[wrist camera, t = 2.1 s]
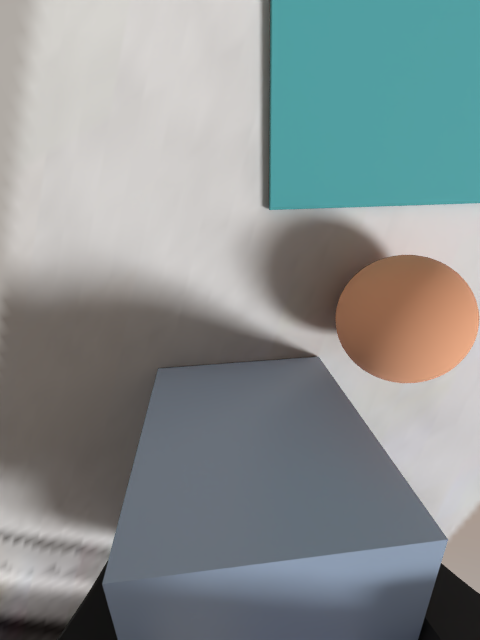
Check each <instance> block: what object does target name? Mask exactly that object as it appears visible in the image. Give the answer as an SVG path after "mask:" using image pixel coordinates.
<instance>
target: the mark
mask: <svg viewBox="0 0 480 640" xmlns="http://www.w3.org/2000/svg"><path fill="white" fill-rule="evenodd" d="M465 203H480V0H270V159H269V210H282V209H313V208H343V207H373V206H404V205H434V204H465Z"/></svg>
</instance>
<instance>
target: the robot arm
mask: <svg viewBox="0 0 480 640" xmlns="http://www.w3.org/2000/svg"><path fill="white" fill-rule="evenodd" d="M107 564H108V561H107V563H106V565H105V566H104V568H103V570H102V571H101V573H100V575H99V576H98V578H97V580H96V581H95V583H94V585H93V586H92V588H91V590H90V591H89V593H88V594H87V596H86V597H85V599H84V600H83V602H82V604H81V605H80V607H79V608H78V610H77V611H76V613H75V614H74V615H73V617H72V618H71V620H70V621H69V623H68V624H67V626H66V627H65V629H64V630H63V631H62V633H61V634H60V636H59V637H58V638H57V640H118V639H117V635H116V632H115V628H114V624H113V621H112V617H111V614H110V610H109V607H108V603H107V600H106V596H105V592H104V589H103V585H102V583H103V579H104V575H105V571H106V567H107ZM418 640H480V594H479V593H478V592H476V591H475V590H474V589H472V588H471V587H470V586H468V585H467V584H466V583H465V582H463V581H462V580H461V579H460V578H458V577H457V576H456V575H455V574H453V573H452V572H451V571H450V570H449V569H447V568H446V567H445V566H444V565H443V564H442V563H441V565H440V568H439V571H438V575H437V578H436V581H435V585H434V588H433V591H432V595H431V598H430V601H429V605H428V608H427V611H426V615H425V618H424V621H423V625H422V628H421V631H420V635H419V638H418Z"/></svg>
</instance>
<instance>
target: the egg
mask: <svg viewBox="0 0 480 640" xmlns="http://www.w3.org/2000/svg"><path fill="white" fill-rule="evenodd" d="M478 326H479V311H478V307H477V303H476V299H475V297H474V294H473V292H472V291H471V289H470V287H469V286H468V284H467V283H466V282H465V280H464V279H463V278H462V277H461V276H460V275H459V274H458V273H457V272H455V271H454V270H453V269H451V268H450V267H448V266H447V265H445V264H443V263H441V262H439V261H436V260H434V259H431V258H428V257H422V256H416V255H398V256H392V257H388V258H384V259H381V260H378V261H376V262H373V263H372V264H370V265H368V266H366V267H365V268H363V269H362V270H361V271H359V272H358V273H357V274H356V275H355V276H354V277H353V278H352V279H351V280H350V281H349V282H348V284H347V285H346V286H345V288H344V290H343V292H342V293H341V296H340V298H339V301H338V305H337V309H336V329H337V334H338V337H339V340H340V342H341V344H342V347H343V348H344V350H345V352H346V353H347V354H348V356H349V357H350V358H351V359H352V360H353V362H355V363H356V364H357V365H358V366H359V367H360V368H362V369H363V370H365V371H366V372H368V373H370V374H371V375H373V376H376V377H378V378H381V379H384V380H387V381H391V382H398V383H417V382H423V381H427V380H431V379H434V378H436V377H439V376H441V375H443V374H445V373H447V372H448V371H450V370H451V369H453V368H454V367H455V366H457V365H458V364H459V363H460V362H461V361H462V360H463V359H464V357H465V356H466V355H467V354H468V352H469V351H470V349H471V347H472V346H473V344H474V341H475V339H476V336H477V332H478Z"/></svg>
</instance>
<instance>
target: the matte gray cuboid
mask: <svg viewBox="0 0 480 640" xmlns="http://www.w3.org/2000/svg"><path fill="white" fill-rule="evenodd" d="M447 541H448V539H447V538H446V536H445V535H444V533H443V532H442V531H441V529H440V528H439V526H438V525H437V523H436V522H435V521H434V519H433V518H432V516H431V515H430V514H429V512H428V511H427V509H426V508H425V506H424V505H423V504H422V502H421V501H420V499H419V498H418V497H417V495H416V494H415V492H414V491H413V490H412V488H411V487H410V485H409V484H408V482H407V481H406V480H405V478H404V477H403V475H402V474H401V473H400V471H399V470H398V468H397V467H396V466H395V464H394V463H393V461H392V460H391V458H390V457H389V456H388V454H387V453H386V451H385V450H384V449H383V447H382V446H381V444H380V443H379V442H378V440H377V439H376V437H375V436H374V434H373V433H372V432H371V430H370V429H369V427H368V426H367V425H366V423H365V422H364V420H363V419H362V417H361V416H360V415H359V413H358V412H357V410H356V409H355V408H354V406H353V405H352V403H351V402H350V401H349V399H348V398H347V396H346V395H345V393H344V392H343V391H342V389H341V388H340V386H339V385H338V384H337V382H336V381H335V379H334V378H333V377H332V375H331V374H330V372H329V371H328V369H327V368H326V367H325V365H324V364H323V362H322V361H321V360H320V358H319V357H308V358H294V359H281V360H267V361H254V362H240V363H227V364H213V365H199V366H186V367H172V368H159V369H158V371H157V375H156V379H155V383H154V387H153V390H152V394H151V398H150V402H149V406H148V410H147V413H146V417H145V421H144V425H143V429H142V433H141V437H140V440H139V444H138V448H137V452H136V456H135V460H134V464H133V467H132V471H131V475H130V479H129V483H128V487H127V490H126V494H125V498H124V502H123V506H122V510H121V514H120V517H119V521H118V525H117V529H116V533H115V537H114V541H113V544H112V548H111V552H110V556H109V560H108V564H107V567H106V571H105V575H104V579H103V583H102V585H103V589H104V592H105V596H106V600H107V603H108V607H109V610H110V614H111V617H112V621H113V624H114V628H115V632H116V635H117V639H118V640H418V638H419V635H420V631H421V628H422V625H423V621H424V618H425V615H426V611H427V608H428V605H429V601H430V598H431V595H432V591H433V588H434V585H435V581H436V578H437V575H438V571H439V568H440V565H441V561H442V558H443V554H444V551H445V548H446V544H447Z"/></svg>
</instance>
